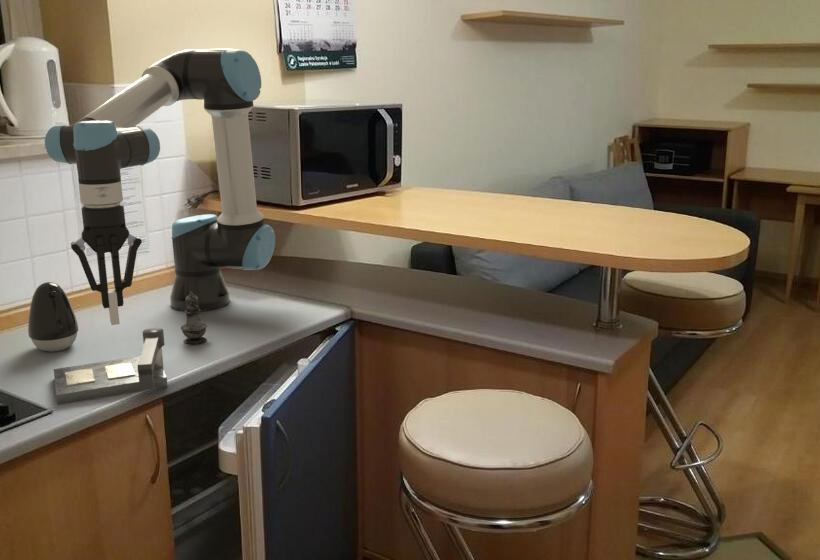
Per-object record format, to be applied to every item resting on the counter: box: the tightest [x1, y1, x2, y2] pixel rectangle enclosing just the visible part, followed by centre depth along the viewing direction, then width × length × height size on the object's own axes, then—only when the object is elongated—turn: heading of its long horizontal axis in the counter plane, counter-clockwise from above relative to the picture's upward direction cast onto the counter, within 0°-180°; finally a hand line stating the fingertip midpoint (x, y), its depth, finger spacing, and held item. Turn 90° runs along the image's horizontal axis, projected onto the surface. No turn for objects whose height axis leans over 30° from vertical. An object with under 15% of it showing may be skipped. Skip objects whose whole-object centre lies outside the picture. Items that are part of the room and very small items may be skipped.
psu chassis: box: [53, 346, 169, 406], centre depth 157 cm, size 20×14×6 cm
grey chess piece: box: [180, 291, 208, 346], centre depth 179 cm, size 6×6×12 cm
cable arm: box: [137, 327, 166, 391], centre depth 153 cm, size 19×4×6 cm, turn 12°
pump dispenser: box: [27, 281, 80, 352], centre depth 175 cm, size 10×10×15 cm
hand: (114, 322), depth 155 cm, fingers closed
